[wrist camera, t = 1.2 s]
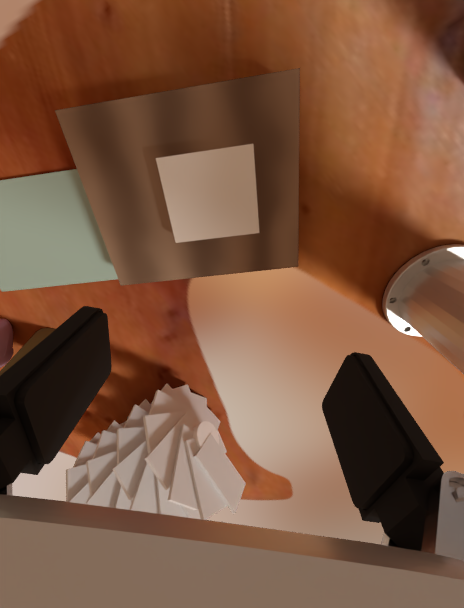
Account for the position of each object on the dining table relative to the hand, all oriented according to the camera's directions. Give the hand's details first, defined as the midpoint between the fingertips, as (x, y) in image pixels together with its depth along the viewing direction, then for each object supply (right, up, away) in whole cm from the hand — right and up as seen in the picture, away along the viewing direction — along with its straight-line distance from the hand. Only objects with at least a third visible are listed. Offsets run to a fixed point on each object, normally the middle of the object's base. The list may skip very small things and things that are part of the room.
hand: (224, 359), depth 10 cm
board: (-3, +14, +17) cm, 22 cm away
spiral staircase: (-12, -18, +36) cm, 42 cm away
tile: (-1, +12, +13) cm, 18 cm away
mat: (-22, +10, +20) cm, 32 cm away
